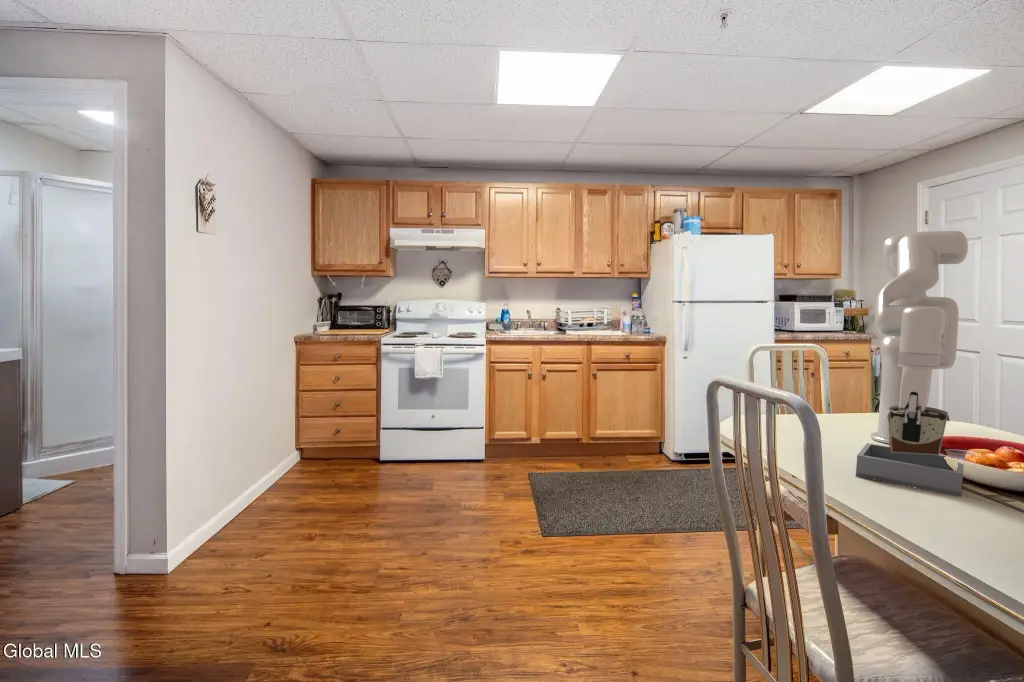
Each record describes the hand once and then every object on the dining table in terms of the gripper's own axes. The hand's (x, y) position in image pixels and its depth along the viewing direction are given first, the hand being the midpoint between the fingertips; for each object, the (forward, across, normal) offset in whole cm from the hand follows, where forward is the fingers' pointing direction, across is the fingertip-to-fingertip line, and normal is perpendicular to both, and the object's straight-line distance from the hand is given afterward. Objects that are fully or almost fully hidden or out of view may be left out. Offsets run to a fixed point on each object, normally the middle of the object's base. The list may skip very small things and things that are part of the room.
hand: (912, 437), depth 126 cm
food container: (+3, -1, 0) cm, 4 cm away
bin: (+10, 0, 0) cm, 10 cm away
